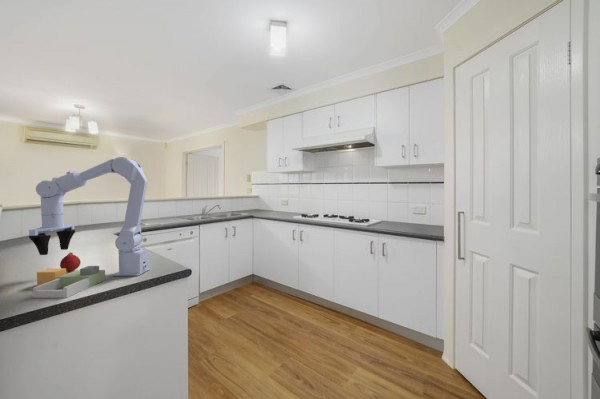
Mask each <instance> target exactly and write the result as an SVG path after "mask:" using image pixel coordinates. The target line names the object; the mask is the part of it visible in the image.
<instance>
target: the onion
mask: <svg viewBox="0 0 600 399" xmlns="http://www.w3.org/2000/svg"><path fill="white" fill-rule="evenodd" d="M73 253H74V252H73V251H72V252H68V254H67V255H66V256H64V257H63V258H62V259H61V260H60V263H59V267H60V269H61V268H66V273H70V272H73V271H76V270H78V268H79V267H80V265H81V259H80V258H79V257H78V256H77V255H75V254H73Z"/></svg>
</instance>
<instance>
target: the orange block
mask: <svg viewBox="0 0 600 399" xmlns="http://www.w3.org/2000/svg"><path fill="white" fill-rule="evenodd" d="M65 274H67V272H66V268H61V267H60V268H45V269H43V270H39V271H37V272H36V286H39V285H42V284H44V283H47V282H50V281H52V280H55V279H58V277H59V276H62V275H65Z"/></svg>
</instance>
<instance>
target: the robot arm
mask: <svg viewBox="0 0 600 399" xmlns="http://www.w3.org/2000/svg"><path fill="white" fill-rule="evenodd" d="M65 173H66V174H64V175H61V176H58V177H52V179H51V180H47V179H46V180H42V181H40V182H38V184H37V185H36V186H35V192H36V194H37V195H39V197H40V214H41V226H40V227H37V228H34V229H28V234H29V235H28V238H29V239H30V240H31V242H32V243H33V244H34V245H35V248H37V251H38V254H39V256H47V255H48V254H49V243H50V239H51V238H52V235H51V234H50V233H56V234H57V237H58V242H59V247H60V250H62V251H63V250H64V251H66V250H68V249H69V246H70V242H71V240H72V238H73V236H74V235H75V233H76V229H75V224H74V223H67V224H66V223H65V218H64V217H65V213H64V196H65V195H66V194H67V193H69V192H71V191H73V190H76V189H78V188H81V187H84V186H86V183H87V181H90V180H92V179H95V178H98V177H100V176H103V175H106V174H110V173H112V174H117V175H120V176H122V177H124V179H125V180H126V181H127V182H128V183H129V184H130V186H129V189H130V190H129V194H128V199H127V205H126V210H125V216H124V220H123V221H124V223H123V226H122V227H121V229H120V231H119V235H118V236H117V238H116V239H115V242H114V245H115V247H116V249H117V251H118V252H117V254H118V272H115V273H113V274H112V276H113V277H114V276H118V277H119V276H121V277H122V276H125V277H126V276H128V277H129V276H132V277H134V276H136V277H137V276H140V275H141V274H143V273H146V272H147V271H149V270H151V268H150V254H149V252H148V250H146V249H142V247H141V245H140V244H142V242H143V235H142V227H141V222H142V217H143V216H142V214H143V210H144V203H145V197H146V192H147V187H148V186H147V185H148V179H147V177H146V175H145V173H144V170H143V167H142V165H141V164H140V163H139V162H138V161H136V160H134V159H131V158H127V157H124V156H117V157H116V158H111V159H108V160H106V161H104V162H102V163H100V164H97V165H95V166H93V167H91V168H89V169H86V170H84V171H81V172H79V171H67V172H65ZM47 234H48V235H47Z"/></svg>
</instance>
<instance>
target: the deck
mask: <svg viewBox="0 0 600 399" xmlns="http://www.w3.org/2000/svg"><path fill="white" fill-rule="evenodd" d="M105 280H106V270H105V269H100V265H87V266H85V267H82V268H80V269H76V270H75V271H73V272H70V273H68V272H66V274H65V275H62V276H59V277H58V279H55V280H52V281H50V282H47V283H44V284H42V285H39V286H37V285H36V286H35V287H32V298H34V299H36V298H38V299H39V298H41V299H44V298H46V299H50V298H54V299H55V298H56V299H57V298H64V299H65V298H69V297H72V296H74V295H76V294H78V293H80V292H82V291H84V290H86V289H88V288H91V287H93V286H94V285H97V284H99V283H101V282H103V281H105ZM61 288H62V289H61Z"/></svg>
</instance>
